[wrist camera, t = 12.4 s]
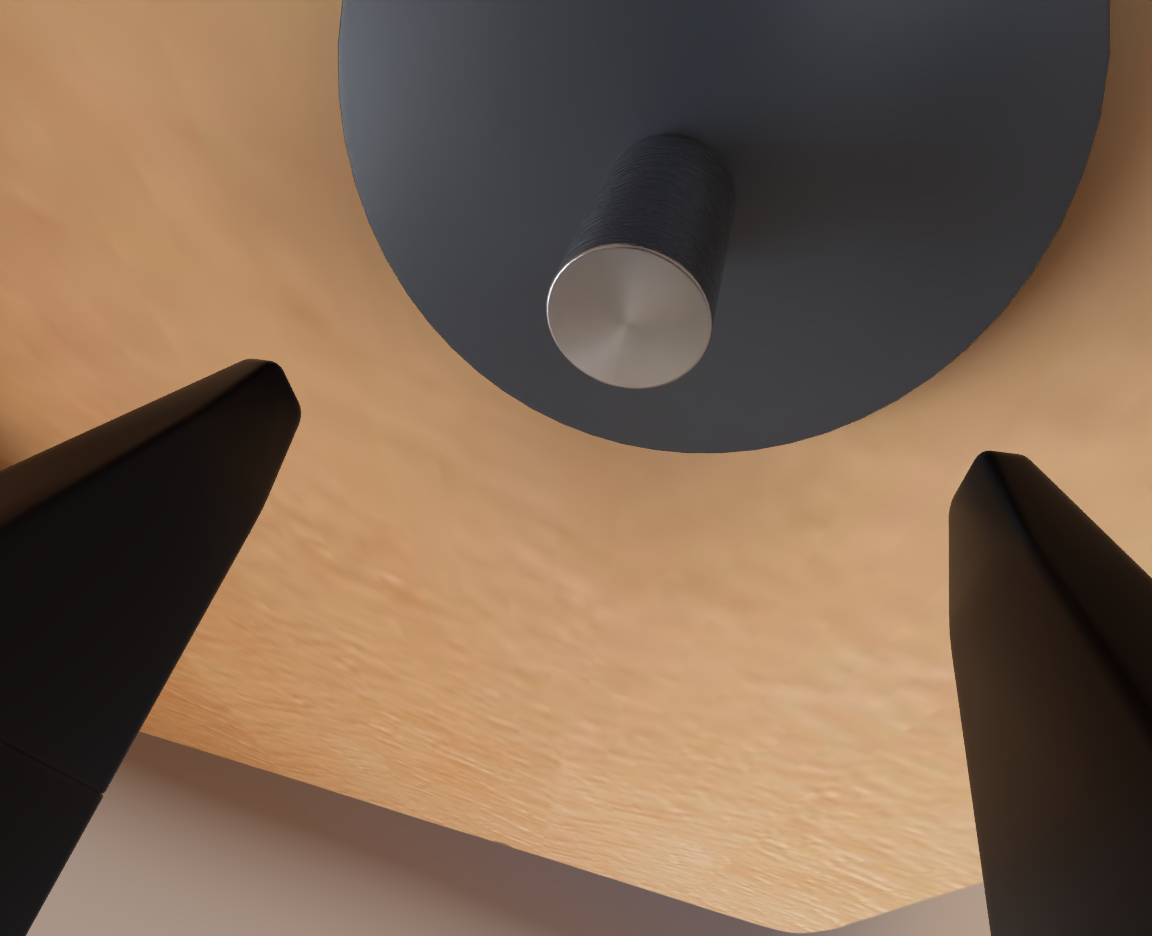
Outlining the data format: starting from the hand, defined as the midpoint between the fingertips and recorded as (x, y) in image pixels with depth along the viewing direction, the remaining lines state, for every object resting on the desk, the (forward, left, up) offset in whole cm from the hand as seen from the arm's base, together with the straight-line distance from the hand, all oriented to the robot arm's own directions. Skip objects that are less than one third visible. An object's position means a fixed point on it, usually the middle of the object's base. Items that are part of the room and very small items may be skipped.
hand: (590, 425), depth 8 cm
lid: (0, 0, -7) cm, 7 cm away
